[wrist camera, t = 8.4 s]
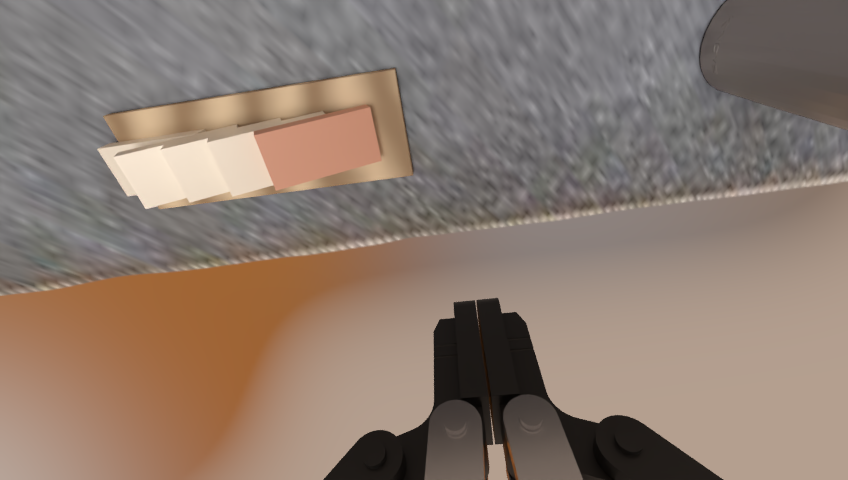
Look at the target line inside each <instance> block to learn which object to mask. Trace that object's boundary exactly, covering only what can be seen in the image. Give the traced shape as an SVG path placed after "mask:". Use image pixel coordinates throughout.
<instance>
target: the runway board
mask: <svg viewBox="0 0 848 480" xmlns="http://www.w3.org/2000/svg"><path fill="white" fill-rule="evenodd" d="M365 104H366V105H367V106H369V107H370V109H371V114H372V118H373V123H374V127H375V132H376V136H377V141H378V145H379V150H380V155H381V159H382V161H379V162H376V163H372V164H369V165H365V166H362V167H358V168H354V169H351V170H347V171H344V172H340V173H337V174H333V175H330V176H326V177H323V178H319V179H316V180H312V181H309V182H305V183H302V184H298V185H295V186H291V187H288V188H284V189H280V190H277V191H276V190H275V187H274V185H273V186H269V187H265V188H262V189H258V190H255V191H251V192H248V193H244V194H241V195H237V196H233V197H232V195H231V193H230V192H226V193H223V194H219V195H216V196H212V197H209V198H205V199H201V200H198V201H194V202H191V203H189V201H188V199H187V198H185V199H181V200H177V201H174V202H170V203H166V204H163V205H159V206H158V208H159V209H164V208H172V207H179V206H187V205H194V204H202V203H209V202H217V201H224V200H232V199H239V198H247V197H254V196H262V195H269V194H277V193H284V192H292V191H299V190H307V189H314V188H322V187H329V186H337V185H344V184H352V183H359V182H367V181H374V180H382V179H389V178H397V177H404V176H412V175H413V167H412V161H411V155H410V149H409V143H408V138H407V132H406V126H405V120H404V115H403V109H402V103H401V97H400V91H399V86H398V80H397V74H396V68H391V69H385V70H379V71H373V72H366V73H360V74H354V75H348V76H341V77H335V78H329V79H323V80H317V81H310V82H304V83H298V84H292V85H285V86H279V87H273V88H267V89H261V90H254V91H248V92H242V93H236V94H229V95H223V96H217V97H211V98H205V99H198V100H192V101H186V102H180V103H173V104H167V105H161V106H155V107H148V108H142V109H136V110H130V111H124V112H117V113H111V114H108V115H105V116H103V117H104V119H105V120H106V122H107V124H108V125H109V127H110V129H111V130H112V132H113V133H114V135H115V137H116V138H117V140H118V142H123V141H129V140H136V139H142V138H149V137H155V136H162V135H168V134H175V133H181V132H188V131H195V130H201V129H205V131H211V130H215V129H219V128H223V127H228V126H232V125H236V124H237V125H238V127H242V126H246V125H250V124H255V123H259V122H263V121H267V120H271V119H276V118H280V119H281V121H282V120H287V119H291V118H295V117H299V116H303V115H308V114H312V113H316V112H320V111H323V112H324V113H325V114H328V113H332V112H336V111H340V110H344V109H348V108H353V107H357V106H361V105H365Z"/></svg>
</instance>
